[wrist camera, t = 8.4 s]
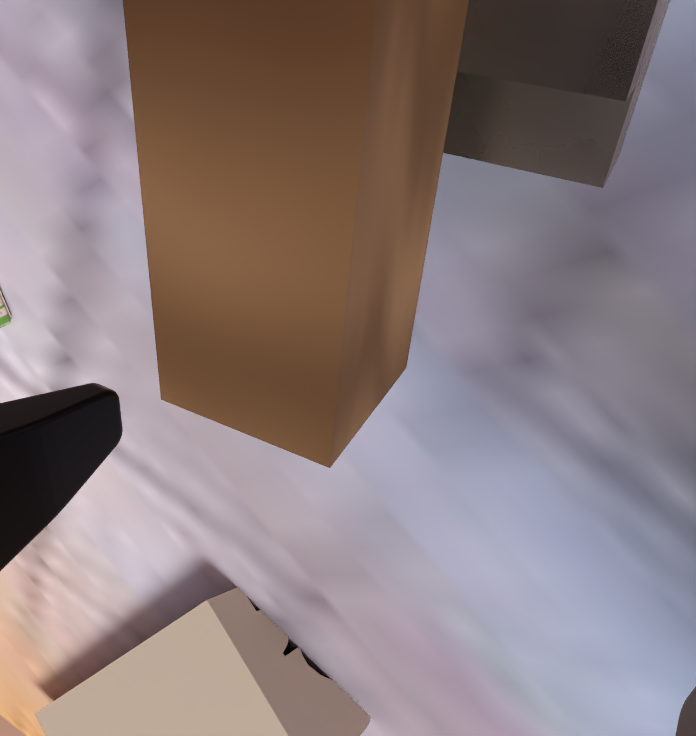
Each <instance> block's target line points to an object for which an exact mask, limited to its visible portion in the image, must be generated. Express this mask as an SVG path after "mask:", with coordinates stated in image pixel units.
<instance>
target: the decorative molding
mask: <svg viewBox="0 0 696 736" xmlns="http://www.w3.org/2000/svg"><path fill="white" fill-rule="evenodd" d="M288 638H289V637H288V636H287V635H286V634H285V633H284V632H283V631H282V630H281V629H280V628H279V627H278V626H277V625H276V624H275V623H274V622H273V621H272V620H271V619H270V618H269V617H268V616H267V615H266V614H265V613H264V612H263V611H262V610H258V611H256V610H255V608H254V607H253V605H252V604H251V602H250V600H249V599H248V597H247V596H246V595H245V594H244V593H243V592H242V591H241V590H240V589H239V588H238V587H237V588H234V589H232V590H230V591H227V592H225V593H222V594H220V595H217V596H215V597H213V598H210V599H208V600H206V601H204V602H203V603H201V604H200V605H198V606H197V607H195V608H194V609H192V610H191V611H189V612H188V613H186V614H185V615H183V616H182V617H180V618H179V619H177V620H176V621H174V622H173V623H171V624H170V625H168V626H167V627H165V628H164V629H162V630H161V631H159V632H158V633H156V634H155V635H153V636H151V637H150V638H148V639H147V640H145V641H144V642H142V643H141V644H139V645H138V646H136V647H135V648H133V649H132V650H130V651H129V652H127V653H126V654H124V655H123V656H121V657H120V658H118V659H117V660H115V661H114V662H112V663H111V664H109V665H108V666H106V667H105V668H103V669H102V670H100V671H99V672H97V673H96V674H94V675H93V676H91V677H89V678H88V679H86V680H85V681H83V682H82V683H80V684H79V685H77V686H76V687H74V688H73V689H71V690H70V691H68V692H67V693H65V694H64V695H62V696H61V697H59V698H58V699H56V700H55V701H53V702H52V703H50V704H49V705H47V706H46V707H44V708H43V709H41V710H40V711H38V712H37V713H35V716H36V718H37V720H38V721H39V723H40V725H41V727H42V729H43V731H44V733H45V735H46V736H360V735H361V734H362V732H363V731H364V730H365V729H366V727H367V726H368V724H369V722H370V718H371V717H370V716H368V715H367V714H366V713H365V712H364V711H363V710H362V709H361V708H360V707H359V706H358V705H357V704H356V703H355V702H354V701H353V700H352V699H351V698H350V697H349V696H348V695H347V694H346V693H345V692H344V691H343V690H342V689H341V688H340V687H339V686H338V685H337V684H336V683H335V682H334V681H333V680H331V679H329V678H326V677H324V676H322V675H320V674H319V673H317V672H316V671H315V670H314V669H313V668H311V667H310V666H309V665H308V664H307V662H306V660H305V659H304V657H303V655H302V652H301V649H300V648H299V647H298V648H296V649H295V650H293V651H292V652H290V653H289V654H288V655H286V656H284V654H283V652H284V650H285V648H286V646H287V644H288Z"/></svg>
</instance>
